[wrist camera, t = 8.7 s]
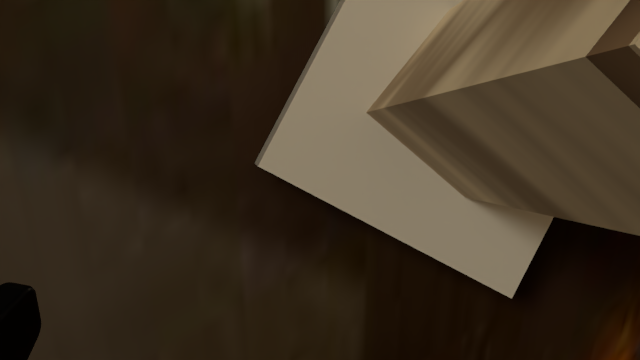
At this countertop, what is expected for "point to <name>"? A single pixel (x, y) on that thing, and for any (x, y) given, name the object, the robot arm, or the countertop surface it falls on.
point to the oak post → (529, 106)
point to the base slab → (389, 148)
